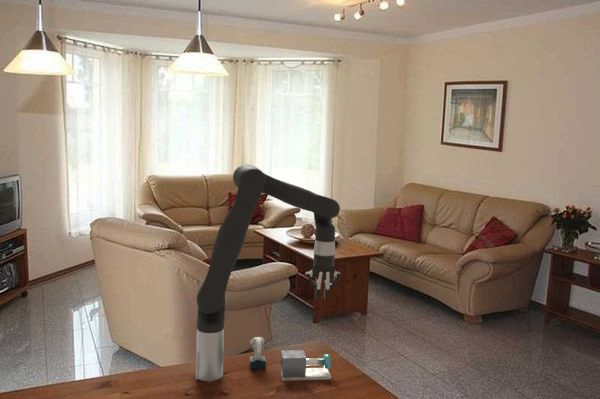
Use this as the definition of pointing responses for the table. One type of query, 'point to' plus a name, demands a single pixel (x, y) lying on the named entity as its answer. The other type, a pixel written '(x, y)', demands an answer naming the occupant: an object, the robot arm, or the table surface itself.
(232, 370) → the table surface
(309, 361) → the shaft
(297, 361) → the shaft housing
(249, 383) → the table surface
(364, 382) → the table surface
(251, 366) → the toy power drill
